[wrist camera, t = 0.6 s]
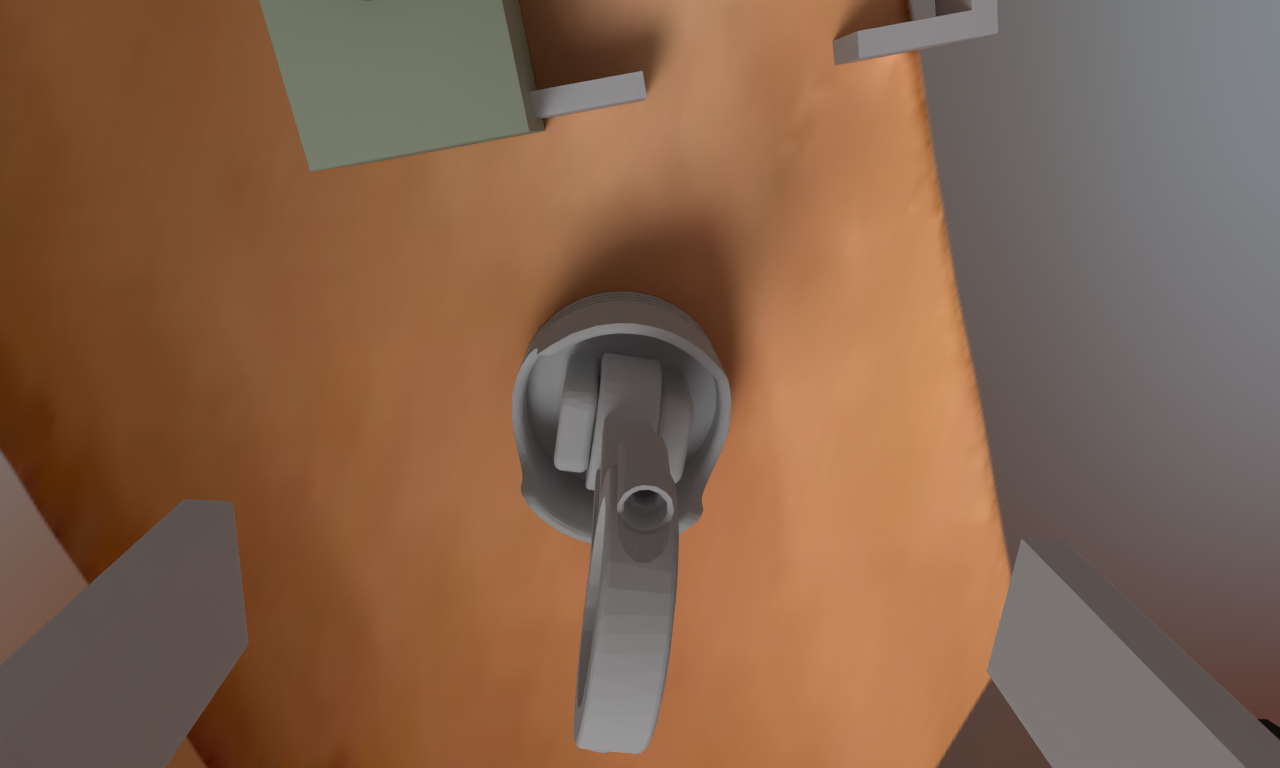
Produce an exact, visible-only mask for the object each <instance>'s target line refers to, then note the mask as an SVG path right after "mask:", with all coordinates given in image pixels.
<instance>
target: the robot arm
mask: <svg viewBox="0 0 1280 768" xmlns="http://www.w3.org/2000/svg"><path fill="white" fill-rule="evenodd" d="M247 646H248V637H247V627H246V618H245V608H244V599H243V589H242V580H241V570H240V561H239V552H238V542H237V533H236V523H235V514H234V504H233V501H212V500H191V499H184V500H183V501H182V502H180V503H179V504H178V505H177V506H176V507H175V508H174V509H173V510H172V511H170V512H169V513H168V514H167V515H166V516H165V517H164V518H163V519H162V520H161V521H159V522H158V523H157V524H156V525H155V526H154V527H153V528H152V529H151V530H149V531H148V532H147V533H146V534H145V535H144V536H143V537H142V538H141V539H139V540H138V541H137V542H136V543H135V544H134V545H133V546H132V547H131V548H129V549H128V550H127V551H126V552H125V553H124V554H123V555H122V556H121V557H119V558H118V559H117V560H116V561H115V562H114V563H113V564H112V565H111V566H109V567H108V568H107V569H106V570H105V571H104V572H103V573H102V574H101V575H100V576H98V577H97V578H96V579H95V580H94V581H93V582H92V583H91V584H90V585H88V586H87V587H86V588H85V589H84V590H83V591H82V592H81V593H80V594H79V595H77V596H76V597H75V598H74V599H73V600H72V601H71V602H70V603H68V604H67V605H66V606H65V607H64V608H63V609H62V610H61V611H60V612H58V614H56V615H55V616H54V617H53V618H52V619H51V620H50V621H49V622H47V623H46V624H45V625H44V626H43V627H42V628H41V629H40V630H39V631H37V632H36V633H35V634H34V635H33V636H32V637H31V638H30V639H29V640H27V641H26V642H25V643H24V644H23V645H22V646H21V647H20V648H19V649H18V650H16V651H15V652H14V653H13V654H12V655H11V656H10V657H9V658H8V659H6V661H4V662H3V663H2V664H1V665H0V768H165V766H166V765H167V763H168V762H169V760H170V759H171V757H172V756H173V754H174V753H175V751H176V750H177V749H178V747H179V746H180V744H181V742H182V741H183V740H184V738H185V737H186V735H187V734H188V732H189V731H190V729H191V728H192V727H193V725H194V724H195V722H196V721H197V719H198V718H199V716H200V715H201V713H202V712H203V710H204V709H205V707H206V706H207V705H208V703H209V702H210V700H211V699H212V697H213V696H214V694H215V693H216V691H217V690H218V688H219V687H220V686H221V684H222V683H223V681H224V680H225V678H226V677H227V675H228V674H229V672H230V671H231V669H232V668H233V666H234V665H235V664H236V662H237V661H238V659H239V658H240V656H241V655H242V653H243V652H244V650H245V649H246V647H247ZM987 672H988V674H989V675H990V677H991V678H992V680H993V681H994V683H995V684H996V686H997V687H998V688H999V690H1000V691H1001V693H1002V694H1003V696H1004V697H1005V699H1006V700H1007V702H1008V703H1009V704H1010V706H1011V708H1012V709H1013V711H1014V712H1015V713H1016V715H1017V716H1018V718H1019V719H1020V721H1021V722H1022V724H1023V725H1024V727H1025V728H1026V730H1027V731H1028V732H1029V734H1030V736H1031V737H1032V738H1033V740H1034V741H1035V743H1036V744H1037V746H1038V747H1039V749H1040V750H1041V751H1042V753H1043V755H1044V756H1045V757H1046V759H1047V760H1048V762H1049V763H1050V765H1051V766H1052V768H1280V727H1278V726H1276V725H1275V724H1273V723H1272V722H1270V721H1269V720H1267V719H1256V718H1255V717H1254V716H1253V715H1252V714H1251V713H1250V712H1249V711H1248V710H1247V709H1246V708H1245V707H1243V706H1242V705H1241V704H1240V703H1239V702H1238V701H1237V700H1236V699H1235V698H1234V697H1233V696H1232V695H1231V694H1229V693H1228V692H1227V691H1226V690H1225V689H1224V688H1223V687H1222V686H1221V685H1220V684H1219V683H1217V681H1215V680H1214V679H1213V678H1212V677H1211V676H1210V675H1209V674H1208V673H1207V672H1206V671H1205V670H1204V669H1203V668H1202V667H1200V666H1199V665H1198V664H1197V663H1196V662H1195V661H1194V660H1193V659H1192V658H1191V657H1190V656H1189V655H1188V654H1186V653H1185V652H1184V651H1183V650H1182V649H1181V648H1180V647H1179V646H1178V645H1177V644H1176V643H1175V642H1174V641H1172V640H1171V639H1170V638H1169V637H1168V636H1167V635H1166V634H1165V633H1164V632H1163V631H1162V630H1160V628H1159V627H1157V626H1156V625H1155V624H1154V623H1153V622H1152V621H1151V620H1150V619H1149V618H1148V617H1147V616H1146V615H1144V614H1143V613H1142V612H1141V611H1140V610H1139V609H1138V608H1137V607H1136V606H1135V605H1134V604H1133V603H1132V602H1130V600H1128V599H1127V598H1126V597H1125V596H1124V595H1123V594H1122V593H1121V592H1120V591H1119V590H1118V589H1117V588H1115V587H1114V586H1113V585H1112V584H1111V583H1110V582H1109V581H1108V580H1107V579H1106V578H1105V577H1104V576H1103V575H1101V574H1100V573H1099V572H1098V571H1097V570H1096V569H1095V568H1094V567H1093V566H1092V565H1091V564H1090V563H1088V561H1086V560H1085V559H1084V558H1083V557H1082V556H1081V555H1080V554H1079V553H1078V552H1077V551H1076V550H1075V549H1073V548H1072V547H1071V546H1070V545H1069V544H1068V543H1067V542H1066V541H1065V540H1044V539H1022V540H1021V543H1020V547H1019V551H1018V555H1017V559H1016V563H1015V566H1014V570H1013V574H1012V578H1011V581H1010V585H1009V589H1008V593H1007V597H1006V600H1005V604H1004V608H1003V612H1002V616H1001V620H1000V623H999V627H998V631H997V635H996V639H995V642H994V646H993V650H992V654H991V658H990V661H989V665H988V669H987Z"/></svg>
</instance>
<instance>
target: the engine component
mask: <svg viewBox="0 0 1280 768" xmlns="http://www.w3.org/2000/svg"><path fill="white" fill-rule="evenodd" d="M730 419H731V392H730V386H729V382H728V378H727V375H726V373H725V371H724V369H723V367H722V365H721V362H720V360H719V358H718V356H717V354H716V352H715V350H714V347H713V346H712V344H711V342H710V340H709V338H708V337H707V335H706V334H705V333H704V331H703V330H702V329H701V327H700V326H699V325H698V324H697V323H696V322H695V321H694V320H693V319H692V318H691V317H690V316H689V315H688V314H686V313H685V312H683V311H682V310H680V309H679V308H677V307H676V306H675V305H673V304H672V303H669V302H667V301H664V300H662V299H660V298H657V297H655V296H652V295H648V294H643V293H638V292H633V291H612V292H603V293H598V294H595V295H592V296H588V297H585V298H582V299H579V300H577V301H575V302H573V303H571V304H570V305H568V306H566V307H564V308H563V309H561V310H560V311H559V312H557V313H556V314H554V315H553V316H552V317H551V318H550V319H549V320H548V321H547V322H546V323H545V324H544V325H543V326H542V327H541V328H540V330H539V331H538V333H537V334H536V336H535V337H534V339H533V341H532V342H531V344H530V345H529V347H528V349H527V352H526V355H525V357H524V360H523V362H522V365H521V367H520V370H519V373H518V375H517V378H516V382H515V386H514V390H513V398H512V421H513V429H514V435H515V440H516V445H517V449H518V454H519V458H520V462H521V468H522V475H523V479H522V485H521V491H522V494H523V497H524V499H525V501H526V502H527V504H528V506H529V507H530V508H531V509H532V510H533V511H534V512H535V513H536V514H537V515H538V516H539V517H540V518H541V519H542V520H544V521H545V522H546V523H548V524H549V525H551V526H552V527H554V528H555V529H557V530H559V531H560V532H562V533H563V534H566V535H568V536H570V537H573V538H575V539H577V540H580V541H584V542H587V543H591V554H590V567H589V574H588V582H587V590H586V599H585V607H584V615H583V624H582V633H581V642H580V652H579V663H578V673H577V685H576V698H575V714H574V738H575V742H576V744H577V746H578V747H579V748H581V749H589V750H592V751H595V752H600V753H608V752H623V753H633V754H639V753H642V752H643V751H644V750H645V749H646V748H647V746H648V745H649V743H650V740H651V738H652V736H653V733H654V730H655V727H656V723H657V720H658V716H659V711H660V706H661V701H662V697H663V692H664V687H665V682H666V676H667V669H668V663H669V656H670V648H671V639H672V630H673V620H674V611H675V602H676V589H677V575H678V547H679V534H680V533H682V532H683V531H685V530H687V529H688V528H690V527H691V526H693V525H694V524H695V523H696V522H697V521H698V519H699V518H700V516H701V515H702V512H703V506H702V495H703V491H704V488H705V486H706V483H707V481H708V479H709V477H710V475H711V472H712V470H713V468H714V466H715V464H716V462H717V459H718V457H719V455H720V453H721V450H722V448H723V445H724V442H725V440H726V437H727V434H728V430H729V424H730Z"/></svg>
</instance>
